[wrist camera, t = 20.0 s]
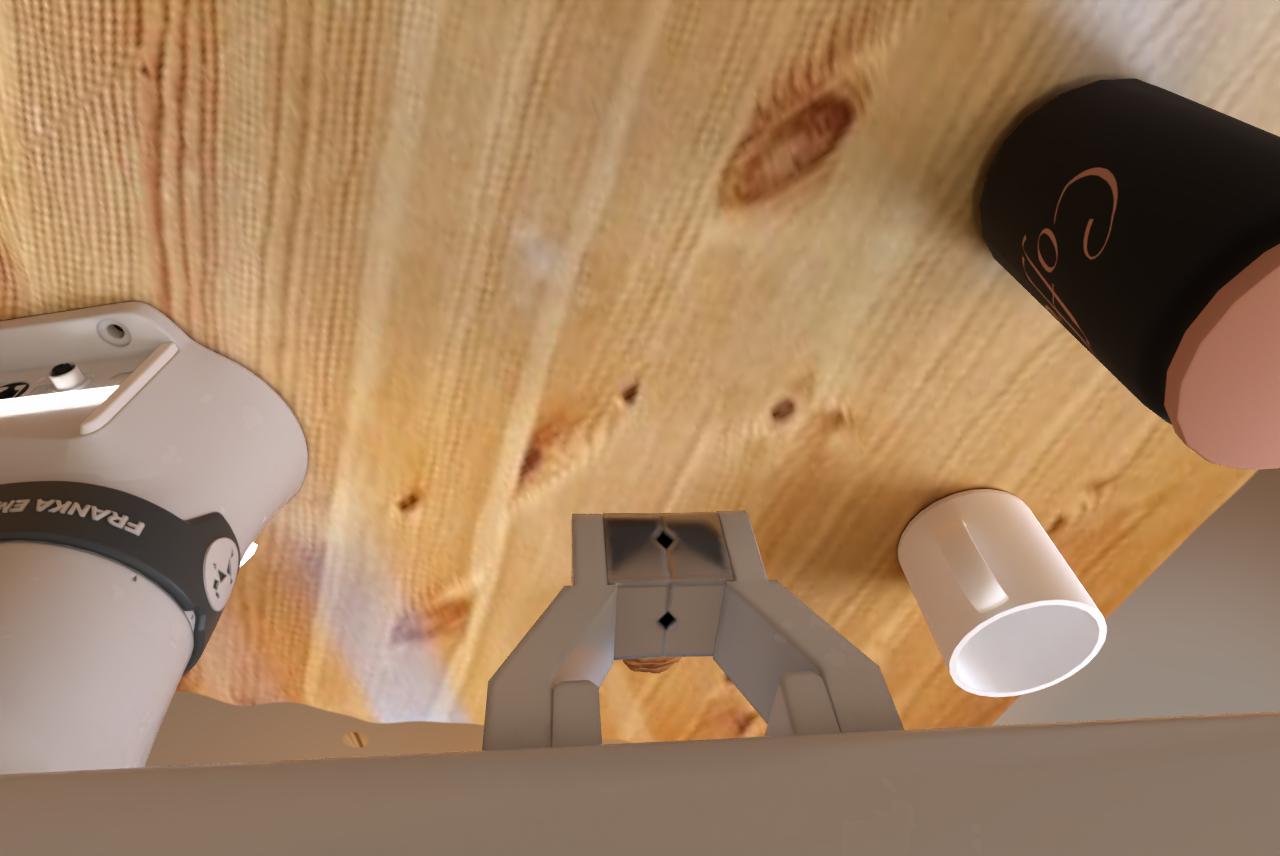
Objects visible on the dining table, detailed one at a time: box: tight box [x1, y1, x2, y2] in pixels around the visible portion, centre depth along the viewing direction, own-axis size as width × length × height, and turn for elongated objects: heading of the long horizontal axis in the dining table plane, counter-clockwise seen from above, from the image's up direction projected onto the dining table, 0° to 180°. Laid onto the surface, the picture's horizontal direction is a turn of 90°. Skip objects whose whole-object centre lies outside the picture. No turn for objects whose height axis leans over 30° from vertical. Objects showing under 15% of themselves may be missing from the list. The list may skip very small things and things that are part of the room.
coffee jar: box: [980, 79, 1280, 470], centre depth 34 cm, size 11×11×18 cm
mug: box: [897, 489, 1107, 697], centre depth 53 cm, size 13×10×10 cm
